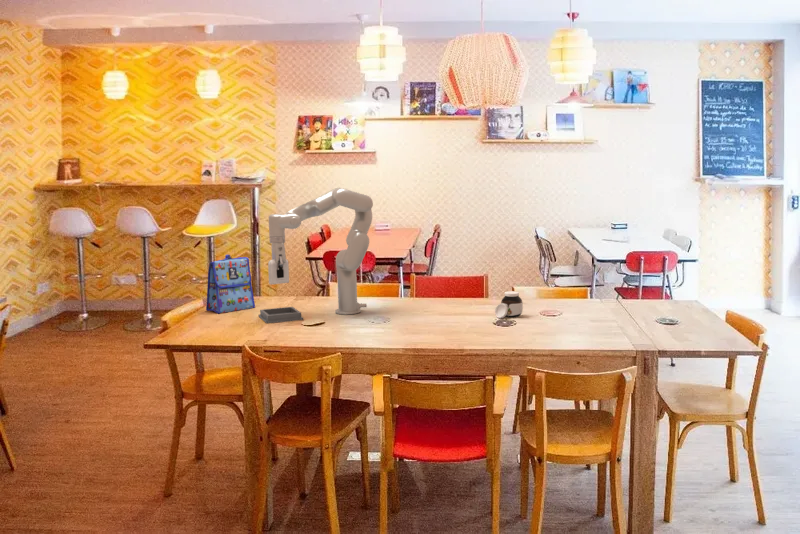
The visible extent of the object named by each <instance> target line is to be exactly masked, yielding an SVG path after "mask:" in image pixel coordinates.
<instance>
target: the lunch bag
mask: <svg viewBox="0 0 800 534" xmlns="http://www.w3.org/2000/svg"><path fill="white" fill-rule="evenodd" d="M206 289H207V290H206V307H205V308H206V311H209V312H210V311H213V312H215V313H216V314H223V313H225V314H226V313H230V312H237V311H243V310H249V309H254V308H256V303H255V297H254V291H253V286H252V274H251V268H250V260H249V257H247V256H242V257H235V258H232V256H231V255H230V254H225V257H224V259H219V260H215V261H210V263H209V264H208V272H207V288H206Z"/></svg>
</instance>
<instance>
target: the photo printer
mask: <svg viewBox="0 0 800 534" xmlns="http://www.w3.org/2000/svg"><path fill="white" fill-rule="evenodd" d="M282 260H283V259H282ZM278 263H280V262H278ZM267 264H268V265H267V269H268V272H267V273H268V284H269V285H280V284H288V283H290V269H289V267H290V266H289V265H290V264H289V260H288V259H287V258H286V263H284V262H283V270H284V277H283V278H277V264H276V263H275V260H274V259H272V258H271V259H270V260H268V263H267Z"/></svg>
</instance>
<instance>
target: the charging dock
mask: <svg viewBox="0 0 800 534" xmlns="http://www.w3.org/2000/svg"><path fill="white" fill-rule="evenodd" d="M259 310H260V311H259V314H258V318H259V319H261V320H262V321H263V322H264V323H266V324H268V325H269V324H277V323H285V322H286V323H287V322H295V321H297V322H298V321H304V317H303V316H302V312H301V311H299V310H298V309H297V308H295V307H294V306H286V307H274V308H264V309H259Z"/></svg>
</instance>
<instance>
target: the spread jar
mask: <svg viewBox="0 0 800 534" xmlns="http://www.w3.org/2000/svg"><path fill="white" fill-rule="evenodd" d="M523 305H524V304H523V300H522V298H521V296H520V292H519V291H515V290H514V291H513V290H510V291H508V290H507V291H505V292H504V297H503V298H502V299H501V301H500V303H499V304H497V305H496V307H495V310H494V313H495V316H496V317H497V318H499V319H503V318H510V319H513V318H514V319H515V318H519V317H520V316H521V315H522V314H523V309H524V308H523V307H524V306H523Z"/></svg>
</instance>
